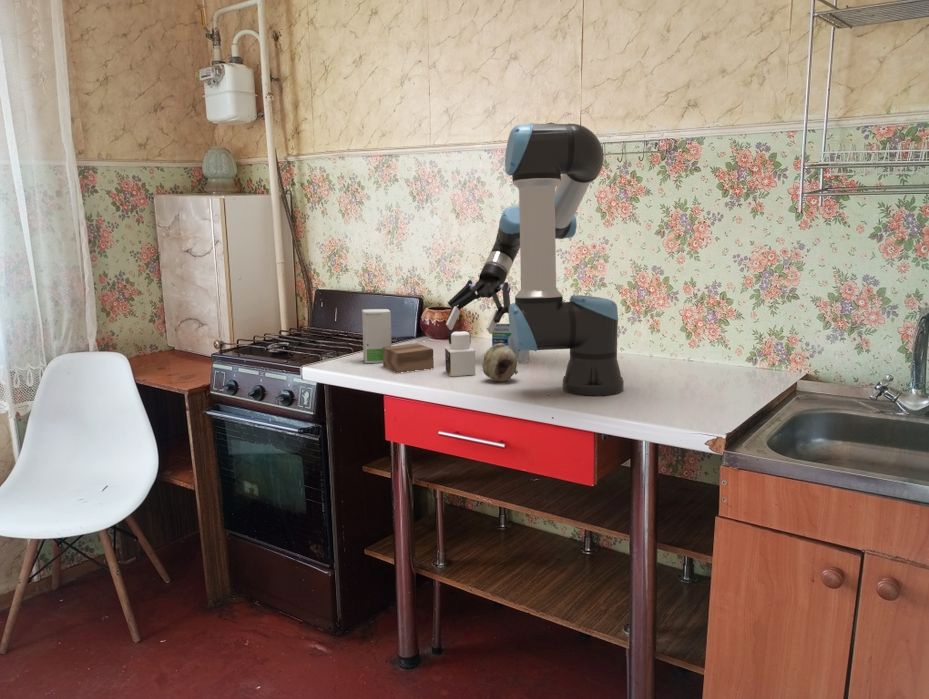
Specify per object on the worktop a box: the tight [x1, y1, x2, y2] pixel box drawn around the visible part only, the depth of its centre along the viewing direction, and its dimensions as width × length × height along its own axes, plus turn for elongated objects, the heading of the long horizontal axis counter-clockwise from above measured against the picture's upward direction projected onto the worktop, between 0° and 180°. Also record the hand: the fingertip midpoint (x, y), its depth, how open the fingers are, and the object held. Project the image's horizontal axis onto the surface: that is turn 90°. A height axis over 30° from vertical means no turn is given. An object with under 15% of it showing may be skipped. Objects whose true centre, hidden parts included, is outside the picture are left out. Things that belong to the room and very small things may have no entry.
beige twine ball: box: [481, 343, 519, 383], centre depth 198 cm, size 10×8×10 cm
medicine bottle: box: [444, 329, 476, 377], centre depth 207 cm, size 7×7×12 cm
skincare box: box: [361, 308, 392, 364], centre depth 226 cm, size 8×7×16 cm
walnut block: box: [382, 342, 435, 374], centre depth 217 cm, size 11×11×6 cm
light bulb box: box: [491, 323, 530, 363], centre depth 223 cm, size 11×7×11 cm, turn 80°
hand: (468, 329), depth 212 cm, fingers open, 13 cm apart
